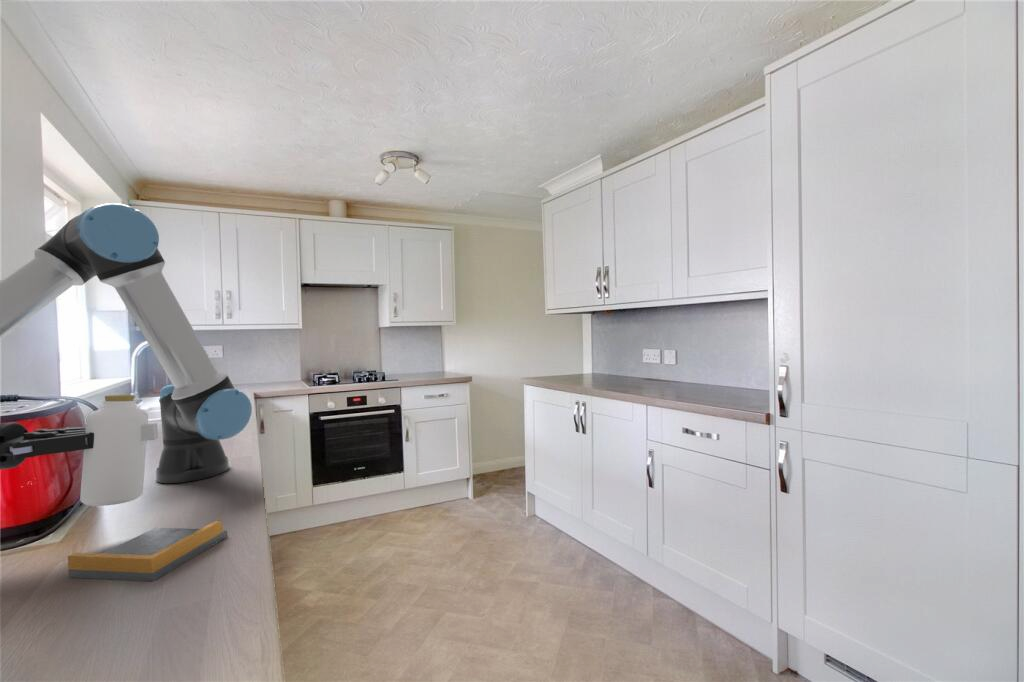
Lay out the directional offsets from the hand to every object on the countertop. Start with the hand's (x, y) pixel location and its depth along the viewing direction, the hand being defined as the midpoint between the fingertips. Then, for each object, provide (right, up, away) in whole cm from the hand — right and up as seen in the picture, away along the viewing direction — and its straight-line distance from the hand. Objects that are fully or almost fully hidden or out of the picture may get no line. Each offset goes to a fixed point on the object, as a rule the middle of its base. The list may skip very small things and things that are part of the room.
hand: (155, 431), depth 83 cm
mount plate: (+6, -18, -9) cm, 21 cm away
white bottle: (-6, -12, -2) cm, 13 cm away
